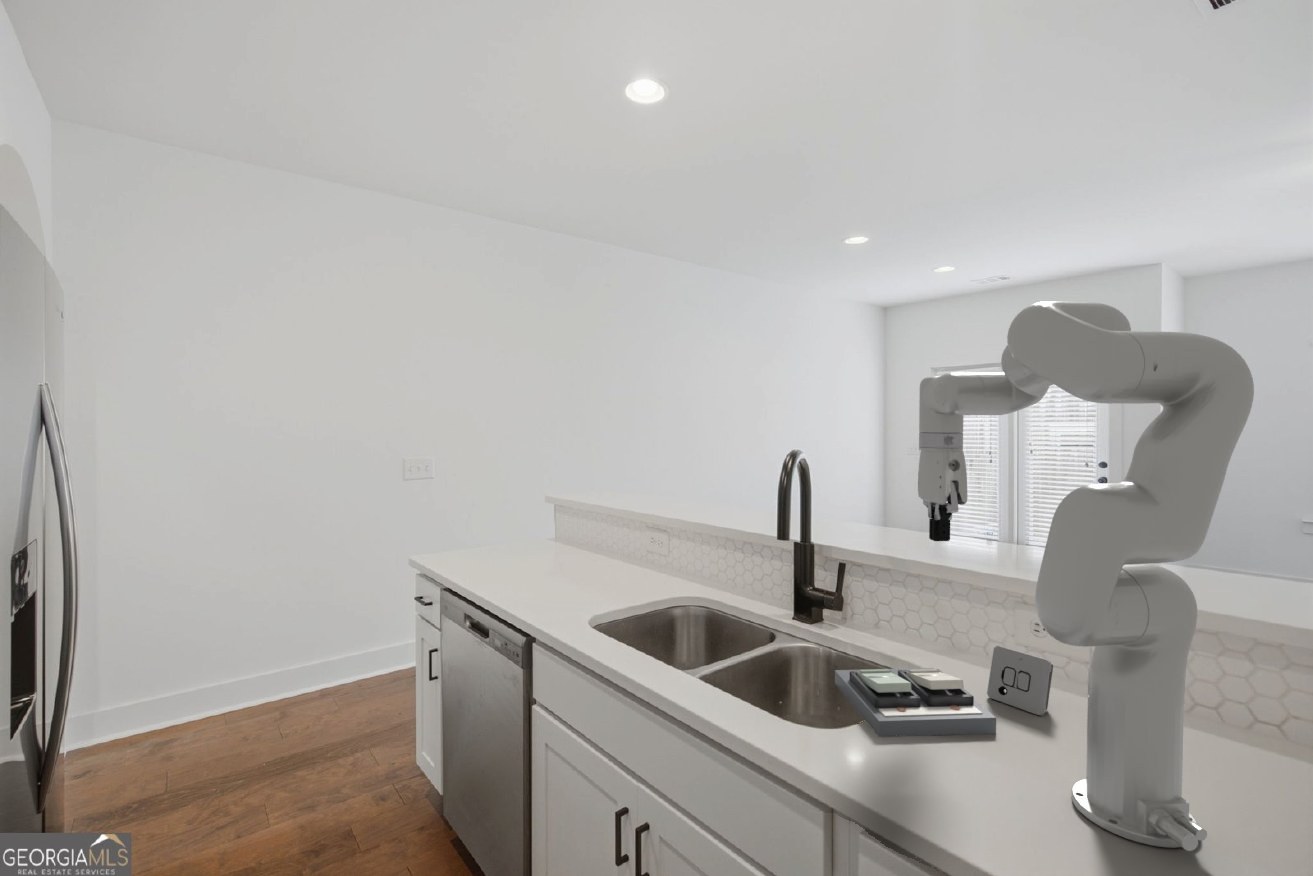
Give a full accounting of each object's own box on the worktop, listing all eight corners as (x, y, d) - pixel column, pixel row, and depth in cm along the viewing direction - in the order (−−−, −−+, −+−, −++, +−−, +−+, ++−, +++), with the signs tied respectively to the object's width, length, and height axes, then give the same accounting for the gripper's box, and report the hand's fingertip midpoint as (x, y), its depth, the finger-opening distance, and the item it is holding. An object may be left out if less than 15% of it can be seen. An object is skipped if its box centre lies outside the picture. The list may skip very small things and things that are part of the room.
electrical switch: (985, 698, 112) (989, 646, 112) (1000, 693, 115) (1003, 642, 115) (1042, 718, 104) (1045, 662, 104) (1056, 713, 107) (1059, 658, 107)
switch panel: (996, 733, 99) (996, 708, 99) (879, 737, 98) (879, 711, 98) (932, 680, 119) (932, 660, 119) (834, 683, 118) (834, 662, 118)
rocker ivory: (964, 689, 104) (962, 677, 105) (931, 690, 104) (930, 678, 104) (937, 680, 113) (936, 668, 113) (907, 681, 113) (906, 669, 113)
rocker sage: (911, 692, 104) (910, 680, 104) (878, 693, 103) (877, 681, 104) (888, 680, 113) (887, 668, 113) (858, 680, 112) (857, 669, 112)
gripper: (983, 444, 110) (982, 548, 110) (939, 441, 124) (938, 533, 125) (941, 444, 109) (940, 548, 110) (902, 441, 124) (902, 533, 125)
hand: (939, 540), depth 117 cm, fingers closed
